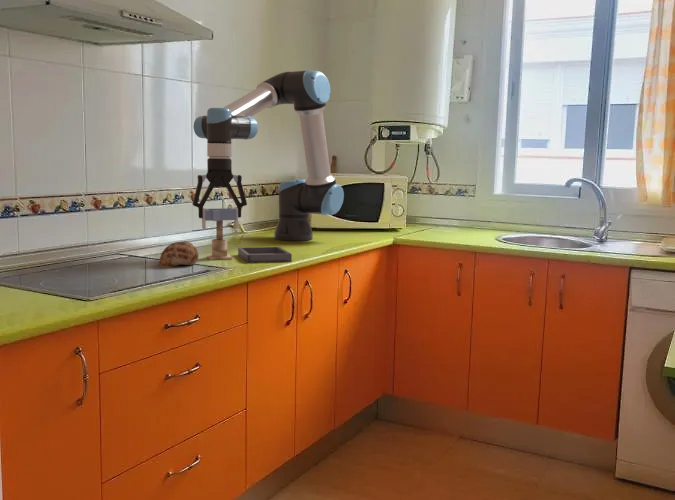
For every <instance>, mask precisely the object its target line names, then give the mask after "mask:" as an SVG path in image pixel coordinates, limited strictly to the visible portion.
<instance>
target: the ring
mask: <svg viewBox="0 0 675 500" xmlns="http://www.w3.org/2000/svg"><path fill="white" fill-rule="evenodd" d="M205 220H206V222H207V221H208V222H209V221H212V222H216V221H220V220H223V221H234V220H237V210H236V209H234V208H233V207H231V208H229V207H227V208H226V207H225V208H222V207H221V208H205Z"/></svg>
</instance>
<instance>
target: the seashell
mask: <svg viewBox="0 0 675 500" xmlns="http://www.w3.org/2000/svg"><path fill="white" fill-rule="evenodd" d="M199 255H200V254H199V251H198V249H197V248H196V247H195V245H193V243H192V242H190V241H187V240H183V241H176V242H173V243H171V244H169V245H168V246H166V247H165V248H164V250H163V251H162V252H161V254H160V256H159V262H158V264H157V265H158V267H162V268H163V267H165V268H167V267H168V268H171V267H172V268H173V267H177V266H180V265H185V266H192V265H194V264H196V263H197V262H198V260H199Z"/></svg>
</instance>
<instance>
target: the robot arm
mask: <svg viewBox="0 0 675 500" xmlns="http://www.w3.org/2000/svg"><path fill="white" fill-rule="evenodd" d="M331 89H332V88H331V85H330V82H329V78H328V77H327V76H326V75H325V74H324V73H323V72H321V71H319V70H312V69H309V70H298V71H297V70H296V71H295V70H294V71H283V72H281V73H278V74H275V75H273V76H272V77H271V76H270V77H269V78H268V79H265V80H263V81H262V82H260V83H259V84H257V86H256V88H255V89H253V90H252V91H250V92H248V93H247V94H245V95H243V96H242V97H239V98H237V99H236V100H234V101H233V102H231V103H229V104H227V105H225V106H223V107H209V108H208V109H207V112H206V113H207V114H206V115H200V116H198V117H196V118H195V119H194V121H193V125H192V127H193V132H194V133H195V135H196V137H198V138H200V139H205V140H206V141H207V144H206V145H207V155H206V156H207V157H208V158H207V161H206V162H207V168H206V169H207V173H206V174H198V175H197V185H196V189H195V193H194V196H193V201H192V206H194V207H196V208H197V209H198V219H201V228H202V229H203V230H206V228H207V227H206V226H207V225H206V223H207V221H206V220H205V209H206V208H205V207H204V206H205V204H206V202H207V201H208V199H209V196H210V194H211V193H212V191H213V189H214V188H226V190H227V191H228V193H229V195H230V197H231V199H232V201H233V202H234V204H235V206H236V207H234V209H236V210H237V220H233V221H234V222H233V223H234V227H233V228H235V229H239V218H241V217H242V208H243V207H245V206H247V204H248V201H247V199H246V195H245V191H244V187H243V183H242V180H243V179H242V177H243V176H242V175H241V174H237V175H236V174H233V171H232V169H233V168H232V165H233V164H232V158H231V157H232V140H251V139H254V138H255V137H256V136H257V134H258V131H259V125H258V124H259V123H258V122H257V120H256V119H255V118H254V117H253V116H255V115H257V114H258V113H260V112H262V111H264V110H265V109H272V108H274V107H276V106H279V105H293V108H294V111H295V112H296V113H297V114H298V115H299V121H300V127H301V134H302V142H303V148H304V149H303V151H304V157H305V163H306V170H307V176H308V177H307V178H306V179H294V180H284V181H282V182H280V184H279V189H278V190H279V191H278V222H277V224H276V228H275V230H274V234H273V235H274V237H273V238H274V239H275V240H278V241H296V242H297V241H299V242H300V241H301V242H302V241H309V240H310V241H311V240H313V235H314V234H313V231H312V227H311V224H310V219H309V214H312V215H313V214H314V215H322V216H326V215H327V216H328V215H336V214H337V213H338V212H339V211H340V209H341V208H342V205H343V203H344V198H345V192H344V189H343V187H342V186H341V185H340V184H338V183H337V181H336V180H337V179H336V177H335V176H334V175H332V173H331V172H332V171H331V166H330V159H329V152H328V143H327V142H328V141H327V137H326V128H325V121H324V119H325V118H324V113H323V112H324V110H325V108H326V107H327V104H326V103H327V102H329V100H330V98H331V97H330V95H331ZM206 180H207V181H208V182H209V184H208V186H207V188H206V190H205V192H204V194H203V196H202V197H201V200H200V202H199V199H200V195H201V191H202V187H203V183H204V182H205V181H206ZM232 180H234V182H236V187H237V191H238V194H239V197H240V200H239V199H238V197H237V195H236V192H235V191H234V189H233V188H232V186H231V184H230V182H231V181H232ZM240 201H241V202H240Z"/></svg>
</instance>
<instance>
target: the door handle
mask: <svg viewBox="0 0 675 500" xmlns="http://www.w3.org/2000/svg"><path fill="white" fill-rule="evenodd" d="M215 223H216V235H215V236H216V238H214V239H211V253H210V254H207V256H206V257H207V259H208V260H209V261H227V260H228V261H229V260H230V261H232V260H233V256H232V255H230V254H229V253H228V239H226V238H224V236H223V235H224V232H223V231H224V230H223V229H224V220H220V221H215Z"/></svg>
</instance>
